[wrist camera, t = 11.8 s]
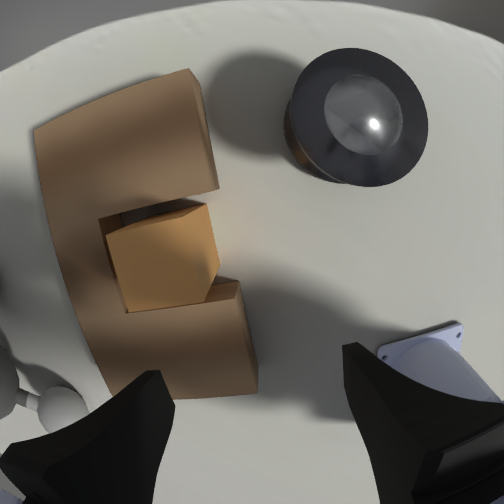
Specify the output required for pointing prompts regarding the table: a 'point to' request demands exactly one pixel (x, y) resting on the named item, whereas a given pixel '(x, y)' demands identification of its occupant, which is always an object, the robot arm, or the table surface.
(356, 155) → the bobbin
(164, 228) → the orange rectangular block
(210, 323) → the notched board
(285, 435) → the table surface
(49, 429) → the molecule model
